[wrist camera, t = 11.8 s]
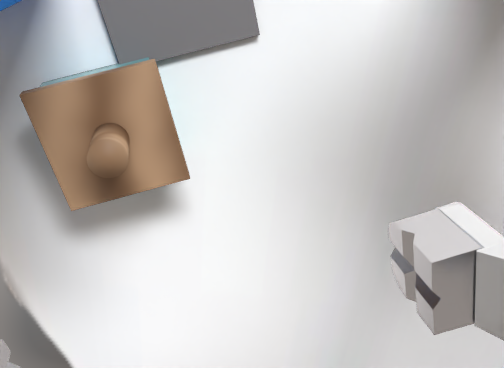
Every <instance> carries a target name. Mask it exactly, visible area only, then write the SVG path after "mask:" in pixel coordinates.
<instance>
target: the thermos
mask: <svg viewBox="0 0 504 368" xmlns="http://www.w3.org/2000/svg"><path fill="white" fill-rule="evenodd" d="M19 1H21V0H0V11H2V10H4V9H6V8H8V7H9V6H11V5H13V4H15V3H17V2H19Z"/></svg>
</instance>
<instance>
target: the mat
mask: <svg viewBox="0 0 504 368" xmlns="http://www.w3.org/2000/svg"><path fill="white" fill-rule="evenodd" d="M98 3H99V6H100V9H101V12H102V15H103V18H104V21H105V24H106V27H107V30H108V33H109V35H110V38H111V41H112V44H113V47H114V50H115V53H116V56H117V59H118V62H119V65H120V64H123V63H127V62H131V61H135V60H139V59H143V58H147V57H149V59H150V60H151V59H155V60H156V61H160V60H164V59H168V58H172V57H175V56H179V55H183V54H187V53H191V52H195V51H199V50H203V49H207V48H211V47H214V46H218V45H222V44H226V43H230V42H234V41H238V40H242V39H246V38H249V37H253V36H257V35H260V34H259V29H258V23H257V18H256V13H255V8H254V3H253V0H98Z"/></svg>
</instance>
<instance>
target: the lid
mask: <svg viewBox="0 0 504 368" xmlns="http://www.w3.org/2000/svg"><path fill="white" fill-rule="evenodd" d="M20 98H21V100H22V102H23V104H24V107H25V109H26V111H27V113H28V115H29V118H30V120H31V122H32V124H33V127H34V129H35V131H36V133H37V136H38V138H39V140H40V142H41V144H42V147H43V149H44V151H45V153H46V156H47V158H48V160H49V162H50V165H51V167H52V169H53V171H54V173H55V176H56V178H57V180H58V182H59V185H60V187H61V189H62V191H63V193H64V196H65V198H66V200H67V202H68V205H69V207H70V209H71V211H73V210H77V209H80V208H84V207H88V206H91V205H95V204H99V203H102V202H106V201H110V200H113V199H117V198H121V197H125V196H128V195H132V194H136V193H139V192H143V191H147V190H150V189H154V188H158V187H161V186H165V185H169V184H172V183H176V182H180V181H183V180H187V179H190V176H189V172H188V168H187V165H186V161H185V158H184V155H183V151H182V148H181V145H180V141H179V138H178V135H177V131H176V128H175V124H174V121H173V118H172V114H171V111H170V108H169V104H168V101H167V98H166V94H165V91H164V87H163V84H162V81H161V77H160V74H159V71H158V67H157V64H156V60H155V59H151V60H147V61H143V62H139V63H135V64H131V65H127V66H123V67H119V68H115V69H111V70H107V71H103V72H99V73H95V74H91V75H87V76H83V77H79V78H75V79H71V80H67V81H63V82H59V83H55V84H51V85H47V86H43V87H39V88H35V89H31V90H27V91H23V92H22V93H21V94H20Z"/></svg>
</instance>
